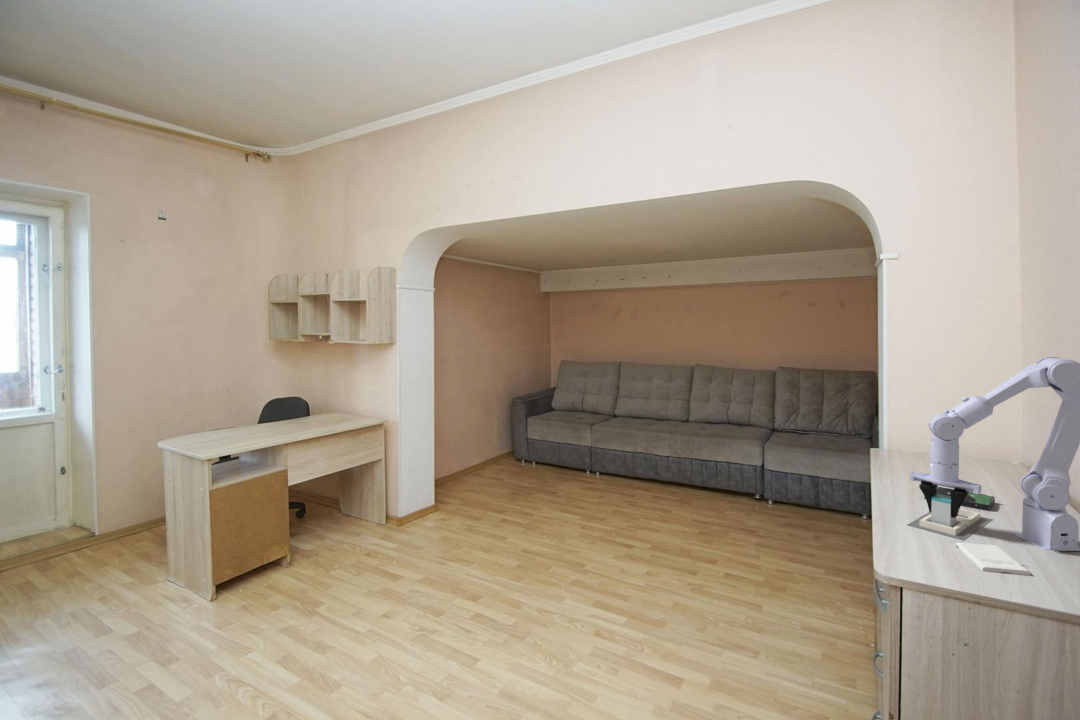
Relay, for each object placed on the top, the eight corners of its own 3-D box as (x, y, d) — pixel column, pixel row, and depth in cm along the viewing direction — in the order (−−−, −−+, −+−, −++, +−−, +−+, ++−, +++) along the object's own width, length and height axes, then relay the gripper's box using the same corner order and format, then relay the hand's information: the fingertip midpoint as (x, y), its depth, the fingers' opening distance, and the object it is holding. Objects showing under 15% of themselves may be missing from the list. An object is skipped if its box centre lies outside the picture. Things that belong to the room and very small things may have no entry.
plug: (949, 528, 129) (950, 501, 128) (931, 523, 132) (931, 497, 132) (955, 524, 131) (956, 497, 131) (937, 519, 134) (937, 493, 134)
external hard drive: (998, 552, 119) (1030, 578, 107) (955, 548, 122) (982, 573, 110) (998, 545, 119) (1030, 570, 107) (956, 541, 122) (982, 566, 110)
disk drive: (924, 503, 151) (990, 514, 141) (924, 493, 151) (990, 504, 140) (931, 494, 158) (994, 504, 148) (931, 485, 158) (995, 495, 147)
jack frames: (955, 535, 126) (955, 529, 126) (919, 525, 133) (919, 520, 132) (980, 518, 136) (980, 513, 136) (945, 510, 142) (945, 505, 142)
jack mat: (963, 542, 123) (963, 540, 123) (906, 526, 133) (906, 525, 133) (993, 521, 135) (993, 519, 135) (938, 508, 145) (938, 506, 145)
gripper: (986, 465, 126) (984, 518, 127) (917, 453, 139) (916, 502, 140) (976, 470, 123) (974, 525, 124) (906, 458, 135) (905, 508, 136)
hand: (943, 513), depth 131 cm, fingers open, 4 cm apart
